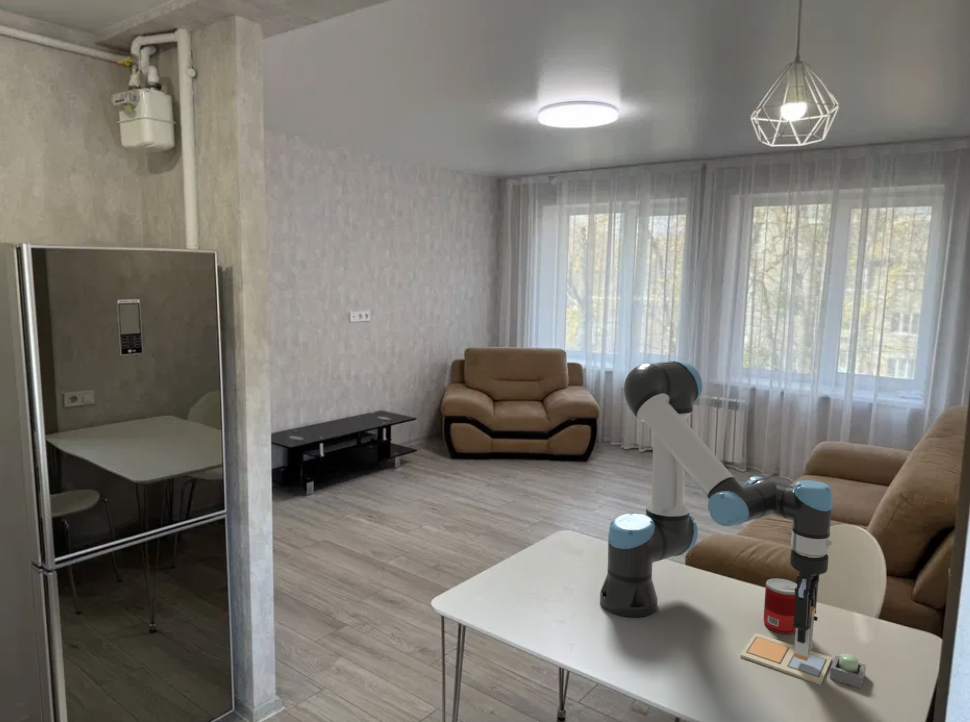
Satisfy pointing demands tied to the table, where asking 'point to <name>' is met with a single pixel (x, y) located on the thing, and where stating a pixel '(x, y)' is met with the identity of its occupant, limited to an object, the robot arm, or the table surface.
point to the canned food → (780, 605)
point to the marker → (811, 623)
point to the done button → (848, 663)
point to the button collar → (847, 674)
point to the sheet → (786, 658)
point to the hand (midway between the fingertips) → (803, 650)
